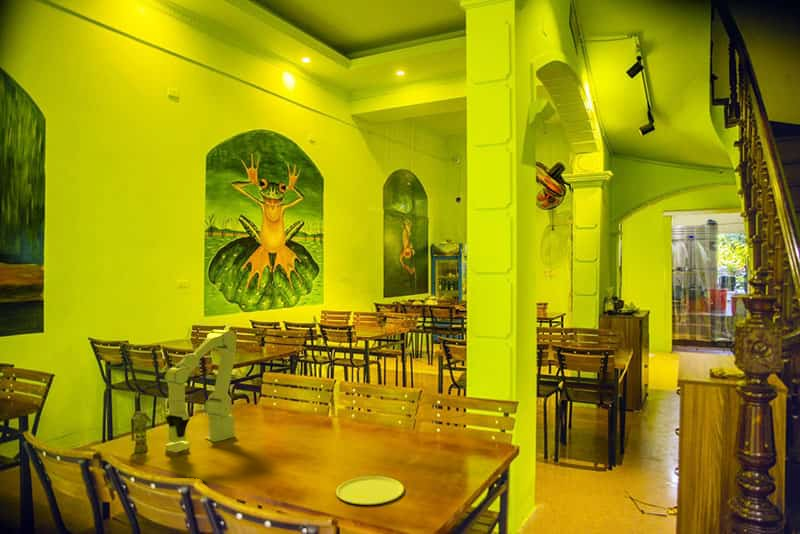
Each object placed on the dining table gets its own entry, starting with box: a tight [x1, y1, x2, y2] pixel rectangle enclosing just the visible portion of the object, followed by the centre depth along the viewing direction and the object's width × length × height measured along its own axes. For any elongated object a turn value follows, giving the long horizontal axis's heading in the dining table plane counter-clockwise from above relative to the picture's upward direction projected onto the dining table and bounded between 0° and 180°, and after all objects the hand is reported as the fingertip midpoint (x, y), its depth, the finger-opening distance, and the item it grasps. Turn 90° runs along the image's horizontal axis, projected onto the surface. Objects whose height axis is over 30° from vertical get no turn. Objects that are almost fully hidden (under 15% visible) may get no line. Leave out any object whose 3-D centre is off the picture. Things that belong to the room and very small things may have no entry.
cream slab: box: [165, 440, 191, 452], centre depth 206 cm, size 6×6×2 cm
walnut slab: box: [164, 448, 190, 457], centre depth 206 cm, size 6×6×2 cm
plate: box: [335, 475, 405, 506], centre depth 166 cm, size 21×21×1 cm
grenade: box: [130, 410, 152, 454], centre depth 209 cm, size 7×7×15 cm
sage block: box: [168, 426, 187, 443], centre depth 206 cm, size 4×4×5 cm
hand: (177, 435), depth 206 cm, fingers closed on sage block, 4 cm apart
